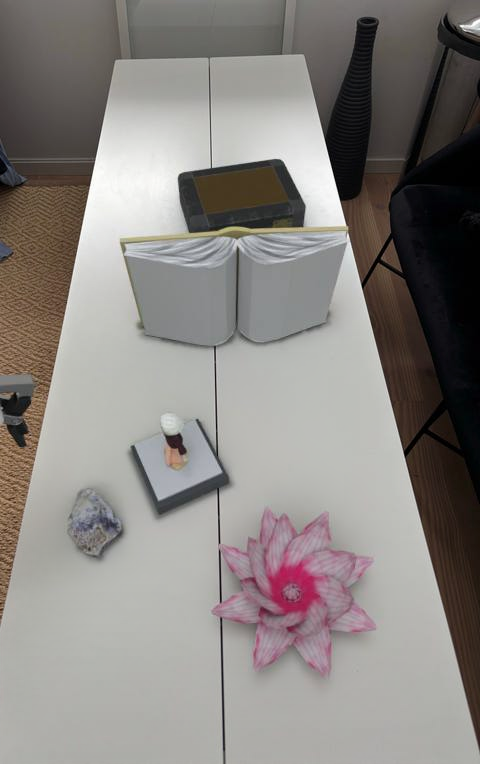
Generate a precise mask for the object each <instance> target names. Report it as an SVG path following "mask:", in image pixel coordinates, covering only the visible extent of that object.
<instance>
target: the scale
mask: <svg viewBox="0 0 480 764" xmlns="http://www.w3.org/2000/svg"><path fill="white" fill-rule="evenodd" d="M180 434H181V435H182V437H183V443H182V444H183V445H184V447H185V448H186V450H187V457H188V463H187V464H186V465H185V466H184V467H182V468H181V469H180V470H174V469H173V468H172V467H171V465H170V466H168V465H167V464H166V461H165V455H164V450H165V448H166V439H165V436H164V433H163V432H161V433H157V434H156V435H154V436H151V437H148V438H145V439H143V440H141V441H139V442H137V443H134V444H131V445H130V450H131V452H132V455H133V458H134V460H135V462H136V464H137V467H138V469H139V471H140V473H141V476H142V478H143V481H144V483H145V485H146V488H147V490H148V492H149V495H150V497H151V499H152V502H153V504H154V507H155V509H156V511H157V514H158V515H159V516H160V515H162V514H164V513H167V512H168V511H171V510H173V509H175V508H178V507H180V506H182V505H184V504H186V503H188V502H191V501H193V500H195V499H198V498H200V497H202V496H205V495H207V494H209V493H211V492H213V491H216V490H217V489H219V488H223V487H224V486H227V485H229V484H230V483H229V482H230V481H229V480H230V479H229V475H228V473H227V471H226V468H224V465H223V463H222V462H221V460H220V458H219V456H218V454H217V452H216V450H215V448H214V446H213V443H212V442H211V441H210V439H209V437H208V435H207V433H206V431H205V429H204V428H203V425H202V423H201V422H200V419H199V418H195V419H192V420H190V421H187V422H184V427H183V429H182V431H181V432H180Z"/></svg>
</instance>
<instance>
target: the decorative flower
mask: <svg viewBox="0 0 480 764" xmlns="http://www.w3.org/2000/svg"><path fill="white" fill-rule="evenodd" d="M262 513H263V514H262V518H261V521H260V522H261V523H260V532H259V541H258V540H256V539H255V538H252V537H250V536H248V535H247V536H248V537H247V544H246V551H245V550H242V549H240V548H237V547H233V546H229V545H226V544H222V543H219V544H218V550H219V551H220V553H221V555H222V556H223V559H224V561H225V562H226V564H227V566H228V568H229V570H230V571H231V572H232V573H233V574H234V576H236V577H237V579H238V580H239V584H240V588H241V589H242V590H241V591H239V592H237V593H235V594H233V595H231V596H230V597H228V598H226V599H225V600H224V601H222V602H220V603H218V604H217V605H216V606H214V607H213V608H212V609H211V610H210V613H211V614H212V615H214V616H217V617H218V618H221V619H223V620H227V621H232V622H237V623H242V624H258V625H257V628H256V632H255V639H254V647H253V670H254V671H255V672H259V671H261V670H262V669H264V668H266V667H267V666H269V665H271V664H273V663H274V662H275V661H276V660H277V659H278V658H279V657H281V655H283V653H285V652H286V651H287V650H288V649H289V648H290V647H291V645H292V644H293V645H294V647H295V648H296V649H297V651H298V652H299V654H300V655H301V656H302V657H303V659H304V660H305V662H306V663H307V664H308V665H309V667H311V668H312V669H314V671H316V672H317V673H318V674H319V675H321V676H322V677H323V678H324V679H330V675H331V670H332V641H331V634H330V630H331V631H339V632H346V633H363V632H372V631H376V630H377V628H378V625H377V624H376V623H375V621H374V620H373V619H372V618H371V617H370V615H368V613H367V612H366V611H365V610H364V609H363V608H362V607H360V605H358V604H357V603H356V602H355V598H354V596H353V595H352V593H351V592H350V590H349V589H348V588H349V587H350V586H352V585H353V584H354V583H356V581H358V580H359V579H360V578H361V577H362V576H363V575H364V574H365V573H366V571H367V570H368V569H369V568H370V567H371V565H373V563H374V562H375V560H374V557H373V556H366V555H365V556H364V555H357V554H356V553H354V552H350V551H346V550H338V549H337V550H336V549H335V550H333V549H332V550H331V541H332V539H331V531H330V512H329V511H326V510H325V511H324V512H323V513H321V514H320V515H319V516H317V517H316V518H315V519H313V520H312V521H311V522H310V523H309V524H307V525H306V526H305V527H304V528H303V530H302V531H301V532H300V533H299V534H298V535H297V532H296V530H295V528H294V526H293V523H292V522H291V520H290V518H289V516H288V515H287V514H286V513H285V512H283V513H281V514H280V516H279V517H278V519H277V517H276V515H275V514H274V513H273V511H272V510H271V508H270V507H269V506H268V505H267V506H266V505H265V506H264V510H263V512H262Z"/></svg>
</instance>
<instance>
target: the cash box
mask: <svg viewBox="0 0 480 764" xmlns="http://www.w3.org/2000/svg"><path fill="white" fill-rule="evenodd" d="M177 185H178V196H179V203H180V207H181V210H182V213H183V216H184V220H185V224H186V227H187V230H188V233H201V232H214V231H219V230H221V229H224V228H227V227H245V228H249V229H266V228H300V227H304V225H305V218H306V217H305V216H306V208H307V206H306V205H307V204H306V203H305V201H304V199H303V197H302V195H301V193H300V191H299V189H298V187H297V185H296V183H295V181H294V180H293V177H292V175H291V173H290V171H289V170H288V168H287V165H286V164H285V162H284V161H283V160H282V159H281V158H271V159H263V160H258V161H251V162H244V163H236V164H231V165H223V166H215V167H210V168H203V169H196V170H195V169H194V170H188V171H184V172H180V173H179V174H178V176H177Z"/></svg>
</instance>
